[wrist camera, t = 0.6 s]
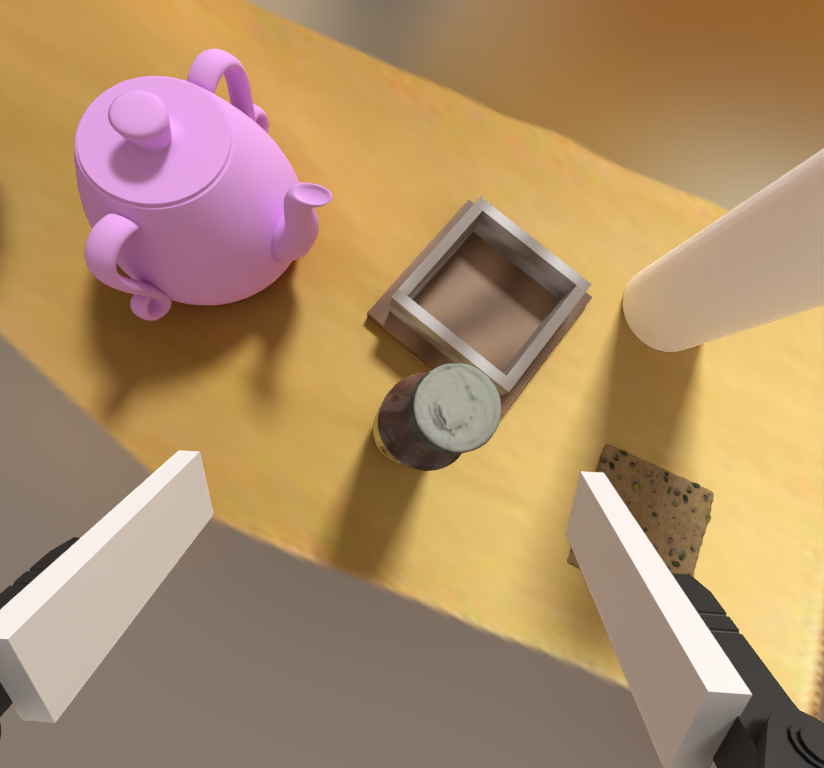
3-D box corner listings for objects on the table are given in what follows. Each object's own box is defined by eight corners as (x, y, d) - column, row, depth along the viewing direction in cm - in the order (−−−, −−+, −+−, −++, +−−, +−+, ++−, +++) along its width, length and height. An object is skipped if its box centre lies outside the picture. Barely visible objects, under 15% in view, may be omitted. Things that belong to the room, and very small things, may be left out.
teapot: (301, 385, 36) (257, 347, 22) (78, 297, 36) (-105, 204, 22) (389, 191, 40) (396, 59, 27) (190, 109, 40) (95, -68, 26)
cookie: (562, 563, 36) (568, 566, 35) (601, 442, 38) (607, 441, 37) (679, 614, 36) (687, 619, 35) (711, 490, 39) (719, 491, 38)
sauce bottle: (370, 461, 35) (364, 476, 16) (376, 393, 37) (377, 330, 17) (441, 466, 36) (519, 486, 16) (444, 399, 37) (522, 344, 18)
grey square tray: (367, 316, 38) (366, 298, 33) (466, 205, 41) (477, 175, 36) (496, 420, 37) (512, 417, 33) (586, 301, 40) (613, 282, 36)
